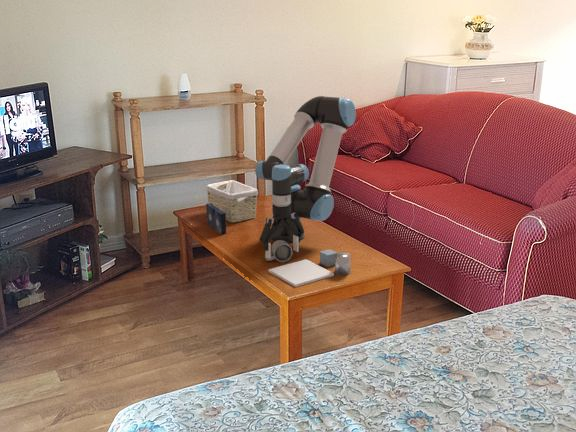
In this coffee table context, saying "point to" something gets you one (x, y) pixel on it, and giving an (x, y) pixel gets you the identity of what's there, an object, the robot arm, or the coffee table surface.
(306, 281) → the white thin square slab
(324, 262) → the slate block
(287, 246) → the ceramic mug
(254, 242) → the coffee table surface
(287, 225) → the robot arm
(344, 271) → the metal tin
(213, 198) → the storage basket
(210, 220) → the vhs cassette tape
